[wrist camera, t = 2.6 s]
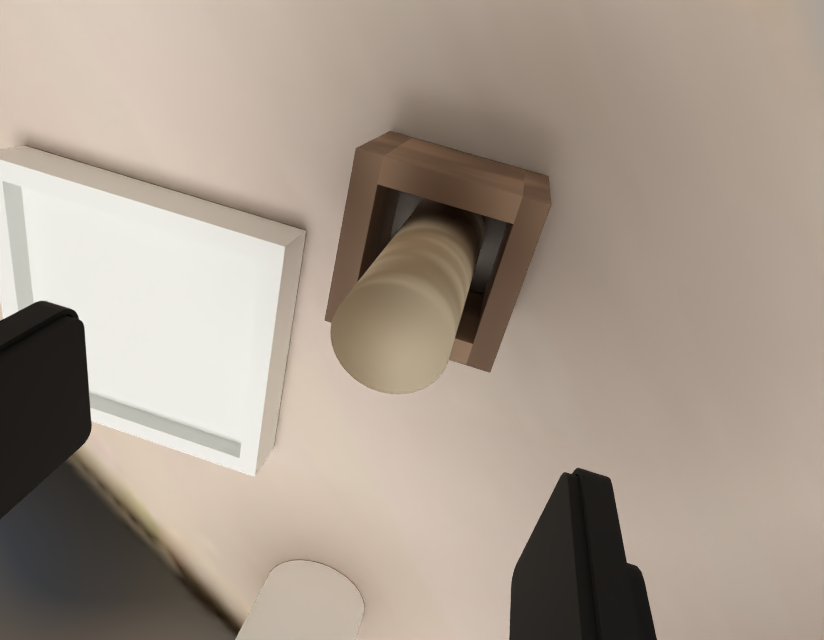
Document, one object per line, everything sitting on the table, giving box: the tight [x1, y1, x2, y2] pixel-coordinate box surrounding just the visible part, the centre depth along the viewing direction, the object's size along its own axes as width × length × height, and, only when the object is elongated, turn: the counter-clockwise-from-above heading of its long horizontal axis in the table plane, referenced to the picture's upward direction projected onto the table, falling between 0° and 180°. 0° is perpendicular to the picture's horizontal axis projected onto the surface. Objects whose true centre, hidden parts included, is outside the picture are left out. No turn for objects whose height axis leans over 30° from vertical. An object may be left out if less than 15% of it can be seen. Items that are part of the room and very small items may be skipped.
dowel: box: [331, 199, 485, 394], centre depth 20 cm, size 3×3×11 cm
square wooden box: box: [325, 131, 551, 372], centre depth 23 cm, size 7×7×5 cm
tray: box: [0, 146, 306, 477], centre depth 29 cm, size 15×14×2 cm
